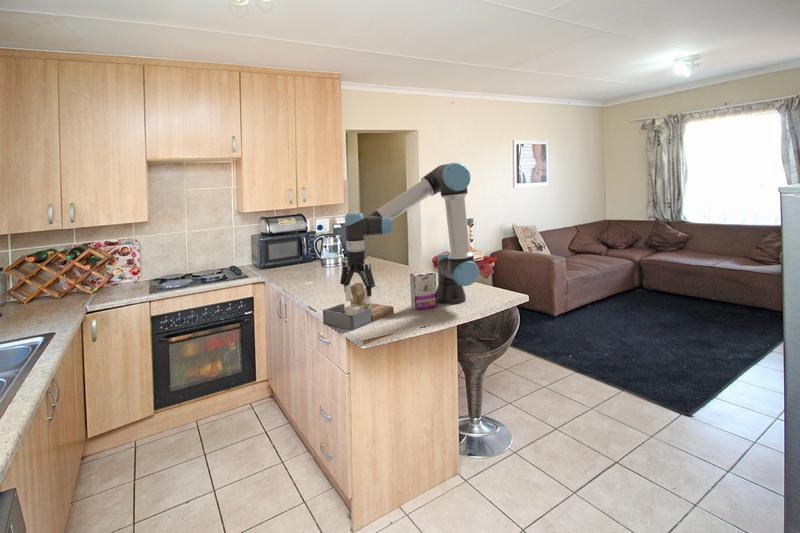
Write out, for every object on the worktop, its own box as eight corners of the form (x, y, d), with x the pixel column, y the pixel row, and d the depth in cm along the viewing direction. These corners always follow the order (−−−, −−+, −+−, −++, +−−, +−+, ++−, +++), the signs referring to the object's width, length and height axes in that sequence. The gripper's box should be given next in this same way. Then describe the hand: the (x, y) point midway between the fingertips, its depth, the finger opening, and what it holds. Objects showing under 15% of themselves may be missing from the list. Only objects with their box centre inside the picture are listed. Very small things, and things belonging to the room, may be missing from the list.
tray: (371, 322, 180) (371, 308, 179) (352, 330, 171) (352, 315, 170) (343, 316, 190) (342, 303, 189) (323, 324, 180) (322, 310, 179)
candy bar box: (431, 304, 205) (431, 270, 202) (437, 307, 200) (436, 272, 197) (410, 308, 200) (409, 273, 197) (415, 310, 196) (414, 275, 193)
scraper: (373, 307, 186) (368, 284, 182) (367, 311, 183) (362, 287, 179) (355, 304, 191) (350, 281, 188) (349, 308, 188) (344, 285, 185)
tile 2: (365, 312, 184) (364, 305, 184) (356, 316, 180) (355, 309, 179) (354, 310, 188) (354, 303, 187) (345, 314, 183) (344, 307, 183)
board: (393, 313, 193) (393, 306, 192) (372, 322, 181) (372, 315, 180) (366, 308, 202) (365, 302, 202) (344, 316, 190) (343, 309, 189)
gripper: (329, 250, 184) (332, 300, 188) (371, 253, 171) (373, 307, 175) (341, 247, 190) (344, 296, 194) (382, 250, 177) (384, 303, 181)
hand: (358, 302), depth 185 cm, fingers closed on scraper, 10 cm apart
